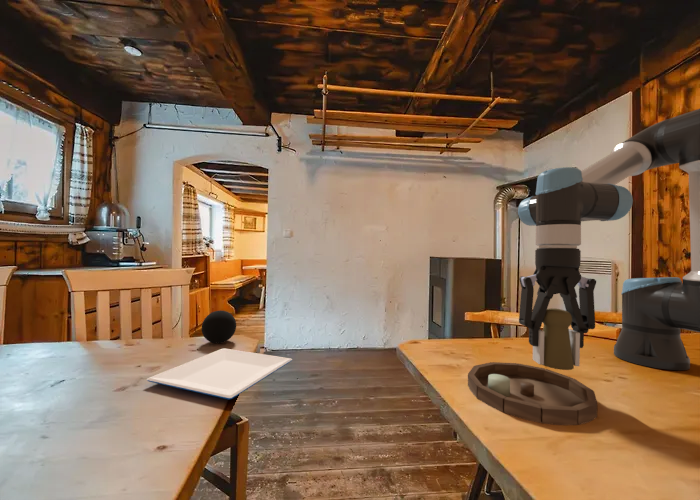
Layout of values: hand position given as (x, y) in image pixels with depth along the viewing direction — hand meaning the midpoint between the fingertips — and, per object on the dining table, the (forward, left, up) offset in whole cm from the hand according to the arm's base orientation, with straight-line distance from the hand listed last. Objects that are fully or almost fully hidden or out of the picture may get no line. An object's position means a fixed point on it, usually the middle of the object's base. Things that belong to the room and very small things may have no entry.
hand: (555, 362), depth 61 cm
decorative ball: (+84, -29, -8) cm, 90 cm away
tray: (+5, 0, -7) cm, 9 cm away
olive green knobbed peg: (0, 0, 0) cm, 0 cm away
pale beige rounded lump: (+11, 0, -6) cm, 13 cm away
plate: (+70, -5, -8) cm, 71 cm away
